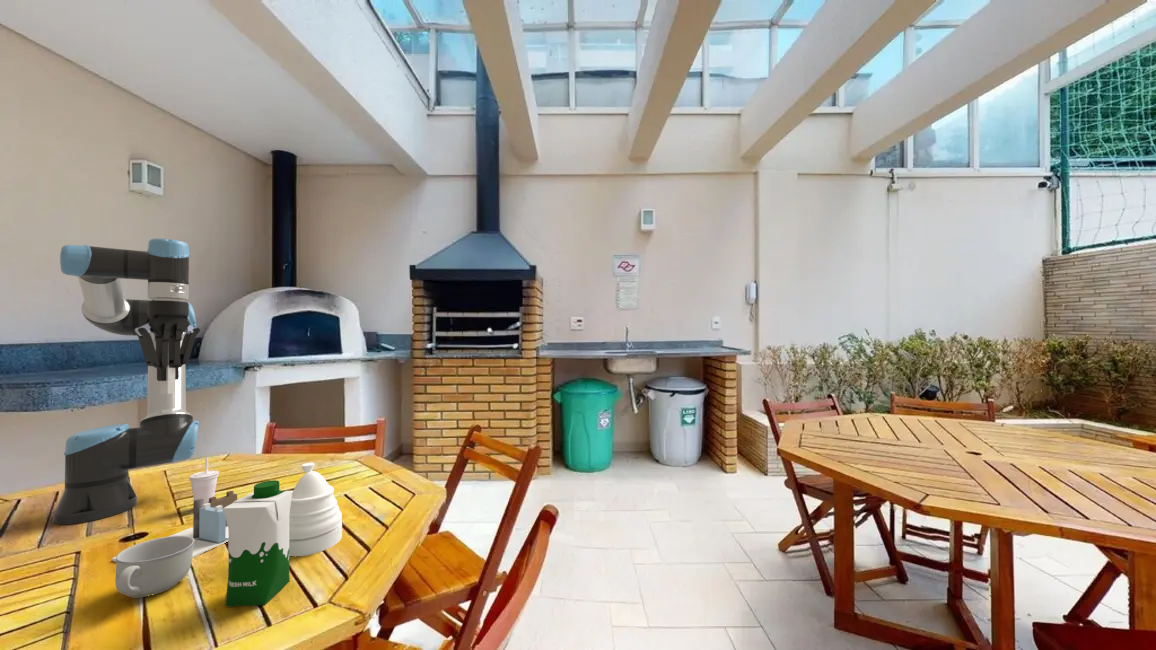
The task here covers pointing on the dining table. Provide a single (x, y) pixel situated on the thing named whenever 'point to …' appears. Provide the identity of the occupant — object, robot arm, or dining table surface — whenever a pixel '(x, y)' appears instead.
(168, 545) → the teacup
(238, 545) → the milk carton
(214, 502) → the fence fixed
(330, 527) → the honey pot
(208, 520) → the fence panel
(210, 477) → the smoothie
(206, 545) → the card
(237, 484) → the dining table surface
